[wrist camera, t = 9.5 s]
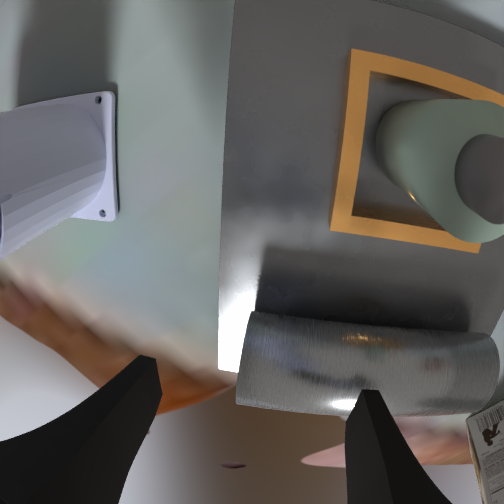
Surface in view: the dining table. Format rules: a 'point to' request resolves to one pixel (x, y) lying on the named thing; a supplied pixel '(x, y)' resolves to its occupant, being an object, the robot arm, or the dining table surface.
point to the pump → (448, 162)
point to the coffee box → (488, 451)
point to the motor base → (348, 216)
